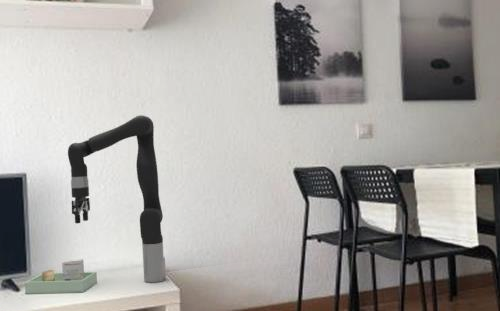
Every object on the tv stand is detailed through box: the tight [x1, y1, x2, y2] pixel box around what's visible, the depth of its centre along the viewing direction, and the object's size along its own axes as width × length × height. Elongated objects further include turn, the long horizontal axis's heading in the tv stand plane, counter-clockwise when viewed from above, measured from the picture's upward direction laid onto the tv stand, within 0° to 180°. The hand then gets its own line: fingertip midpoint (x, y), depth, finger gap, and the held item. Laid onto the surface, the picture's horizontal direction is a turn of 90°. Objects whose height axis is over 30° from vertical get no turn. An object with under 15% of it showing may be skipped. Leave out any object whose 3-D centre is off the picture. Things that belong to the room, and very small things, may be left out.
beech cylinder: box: [41, 269, 55, 281], centre depth 226 cm, size 5×5×7 cm
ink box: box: [61, 258, 85, 281], centre depth 225 cm, size 8×5×12 cm, turn 101°
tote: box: [24, 271, 98, 295], centre depth 225 cm, size 26×16×5 cm, turn 85°
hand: (81, 221), depth 232 cm, fingers open, 8 cm apart
